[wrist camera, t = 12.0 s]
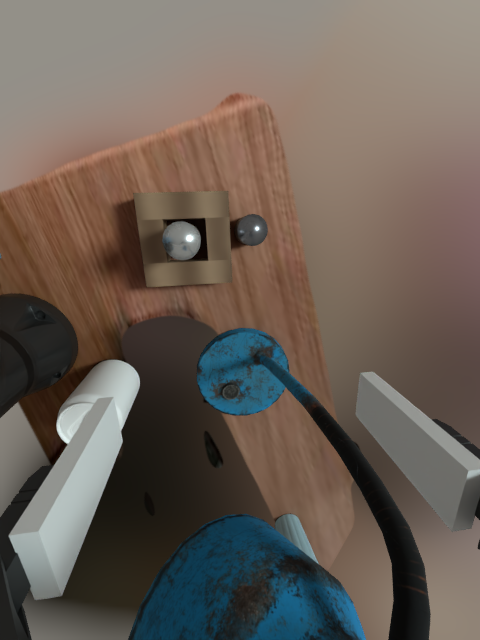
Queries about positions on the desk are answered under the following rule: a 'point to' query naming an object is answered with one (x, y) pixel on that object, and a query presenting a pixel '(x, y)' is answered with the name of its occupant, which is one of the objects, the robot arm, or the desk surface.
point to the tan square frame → (184, 207)
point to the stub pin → (251, 230)
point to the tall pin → (181, 240)
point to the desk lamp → (273, 535)
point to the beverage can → (99, 395)
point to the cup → (294, 533)
